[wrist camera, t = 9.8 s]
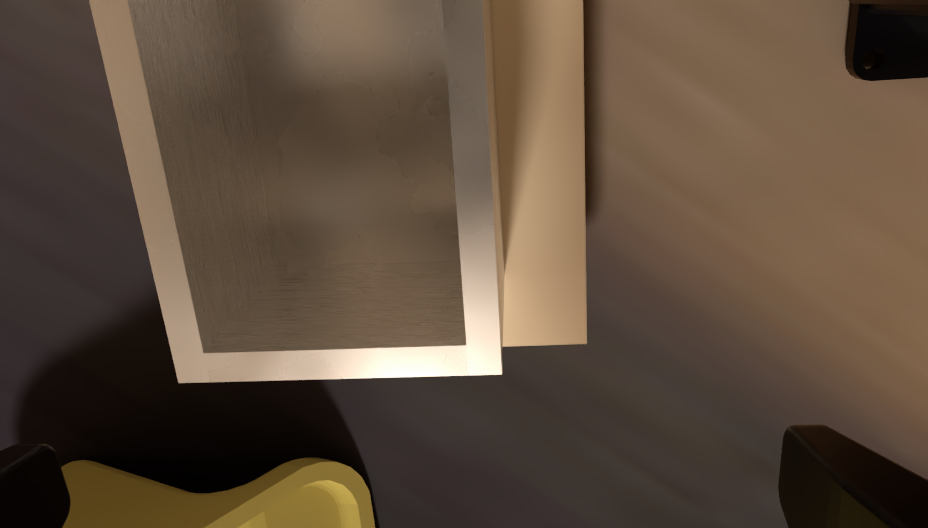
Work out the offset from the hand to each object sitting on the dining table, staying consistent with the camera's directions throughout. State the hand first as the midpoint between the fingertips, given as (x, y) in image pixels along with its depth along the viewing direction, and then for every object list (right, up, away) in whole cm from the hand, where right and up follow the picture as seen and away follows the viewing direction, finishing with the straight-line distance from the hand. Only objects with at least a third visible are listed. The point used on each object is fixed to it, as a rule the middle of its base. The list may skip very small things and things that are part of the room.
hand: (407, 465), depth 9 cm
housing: (-2, +7, +7) cm, 10 cm away
